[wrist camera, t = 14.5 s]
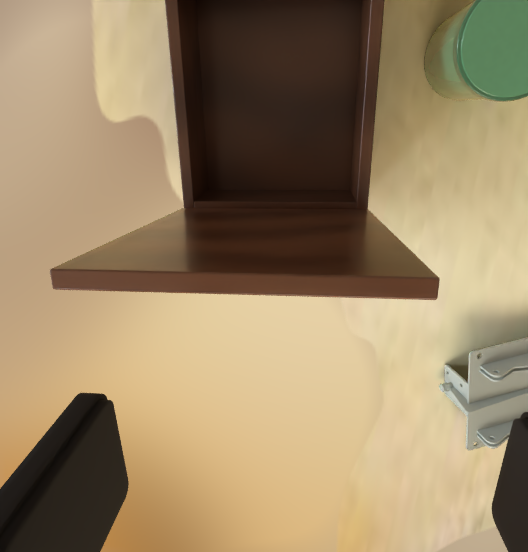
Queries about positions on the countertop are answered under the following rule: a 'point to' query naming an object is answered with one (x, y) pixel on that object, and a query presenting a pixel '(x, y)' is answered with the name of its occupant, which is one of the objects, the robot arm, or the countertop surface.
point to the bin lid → (256, 256)
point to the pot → (481, 52)
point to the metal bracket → (491, 392)
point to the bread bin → (275, 101)
